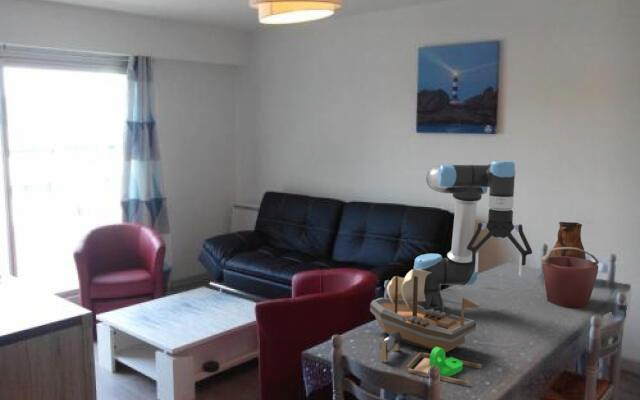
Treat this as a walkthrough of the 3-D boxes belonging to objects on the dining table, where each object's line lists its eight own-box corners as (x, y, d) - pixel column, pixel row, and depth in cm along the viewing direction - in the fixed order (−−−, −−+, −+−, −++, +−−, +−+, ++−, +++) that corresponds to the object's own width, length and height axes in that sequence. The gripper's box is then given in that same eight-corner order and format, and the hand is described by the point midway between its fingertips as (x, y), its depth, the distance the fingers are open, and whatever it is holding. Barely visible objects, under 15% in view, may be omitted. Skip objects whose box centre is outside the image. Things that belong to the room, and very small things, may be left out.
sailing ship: (386, 322, 233) (388, 257, 229) (489, 354, 202) (493, 279, 199) (361, 333, 221) (362, 264, 218) (466, 368, 191) (469, 289, 187)
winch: (378, 361, 196) (378, 341, 195) (392, 348, 207) (392, 329, 206) (388, 363, 194) (389, 343, 193) (402, 350, 205) (402, 331, 204)
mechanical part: (444, 379, 183) (445, 355, 181) (429, 372, 187) (430, 349, 186) (466, 368, 190) (467, 345, 189) (451, 362, 195) (452, 340, 194)
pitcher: (589, 280, 295) (593, 223, 291) (573, 288, 280) (577, 228, 276) (557, 274, 307) (561, 218, 303) (539, 282, 292) (543, 224, 288)
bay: (404, 371, 188) (404, 367, 188) (420, 355, 201) (420, 351, 201) (468, 386, 178) (469, 381, 178) (481, 367, 191) (481, 363, 191)
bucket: (538, 306, 255) (541, 250, 251) (536, 292, 275) (539, 240, 272) (599, 312, 247) (603, 255, 243) (593, 297, 267) (596, 244, 264)
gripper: (460, 208, 186) (457, 272, 189) (542, 212, 178) (539, 279, 181) (462, 205, 193) (460, 267, 196) (541, 209, 185) (538, 273, 188)
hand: (497, 273), depth 188 cm, fingers open, 13 cm apart
